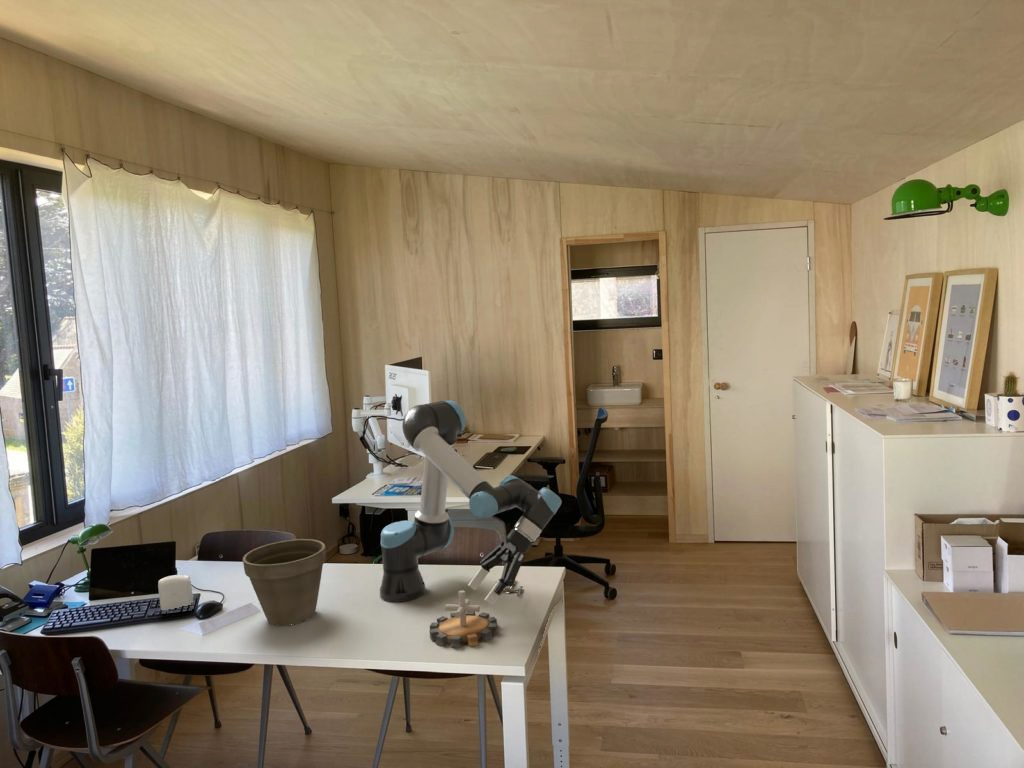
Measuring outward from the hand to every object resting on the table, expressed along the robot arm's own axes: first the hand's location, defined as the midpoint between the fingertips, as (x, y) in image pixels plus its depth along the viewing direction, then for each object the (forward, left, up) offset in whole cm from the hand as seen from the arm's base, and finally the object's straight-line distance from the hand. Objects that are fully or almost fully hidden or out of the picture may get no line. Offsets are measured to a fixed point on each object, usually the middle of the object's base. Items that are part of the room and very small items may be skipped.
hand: (479, 595), depth 223 cm
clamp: (-15, +29, -11) cm, 34 cm away
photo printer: (-97, -44, -11) cm, 107 cm away
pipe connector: (-3, -5, -8) cm, 10 cm away
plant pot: (-59, -26, -11) cm, 65 cm away
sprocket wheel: (-3, -5, -10) cm, 12 cm away
